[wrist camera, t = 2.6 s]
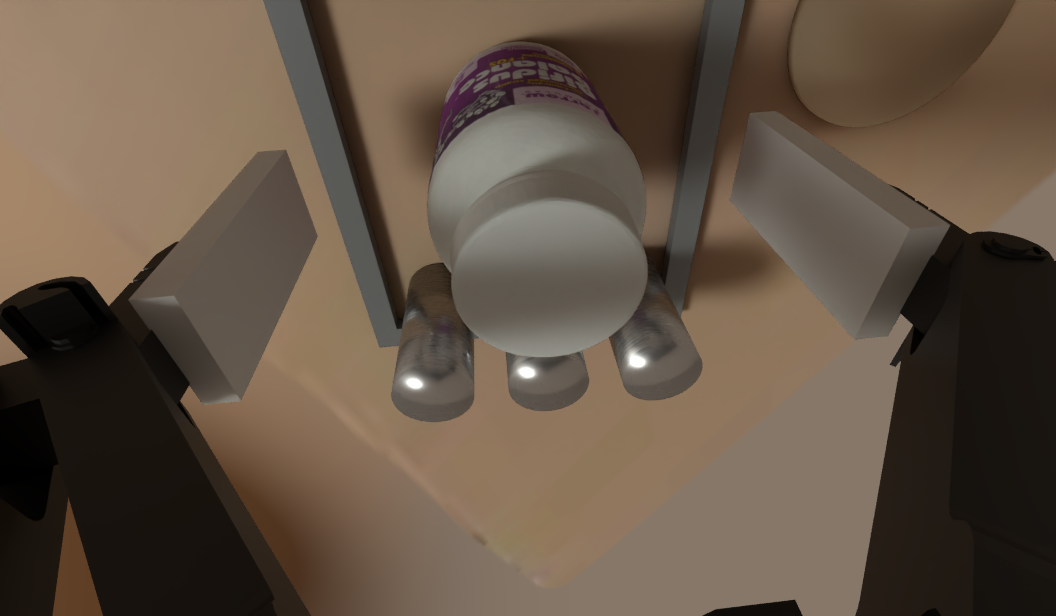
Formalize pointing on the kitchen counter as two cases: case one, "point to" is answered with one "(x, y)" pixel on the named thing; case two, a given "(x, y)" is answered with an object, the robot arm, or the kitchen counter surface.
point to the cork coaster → (884, 53)
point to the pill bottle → (536, 204)
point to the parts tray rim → (346, 196)
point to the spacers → (534, 382)
